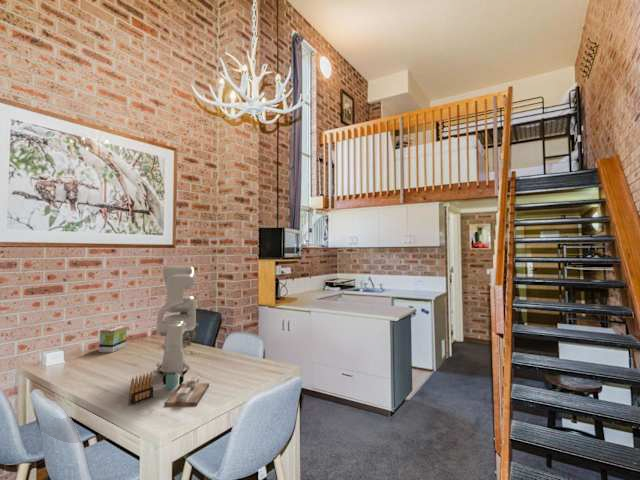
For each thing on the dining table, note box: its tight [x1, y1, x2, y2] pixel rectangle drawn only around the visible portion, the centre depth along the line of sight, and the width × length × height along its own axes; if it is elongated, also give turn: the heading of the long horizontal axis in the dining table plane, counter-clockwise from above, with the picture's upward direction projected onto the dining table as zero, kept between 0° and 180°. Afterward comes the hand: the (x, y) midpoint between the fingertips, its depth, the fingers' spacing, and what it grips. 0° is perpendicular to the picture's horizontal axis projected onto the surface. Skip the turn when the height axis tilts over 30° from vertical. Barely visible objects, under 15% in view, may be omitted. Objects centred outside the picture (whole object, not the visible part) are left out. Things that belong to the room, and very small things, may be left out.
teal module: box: [165, 372, 179, 390], centre depth 172 cm, size 4×6×7 cm, turn 4°
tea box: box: [98, 325, 128, 353], centre depth 235 cm, size 15×10×15 cm, turn 179°
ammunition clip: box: [128, 371, 154, 406], centre depth 156 cm, size 11×2×12 cm, turn 149°
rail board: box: [163, 376, 210, 407], centre depth 162 cm, size 14×22×5 cm, turn 4°
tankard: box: [182, 322, 199, 345], centre depth 255 cm, size 20×13×15 cm, turn 81°
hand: (173, 383), depth 172 cm, fingers open, 7 cm apart
